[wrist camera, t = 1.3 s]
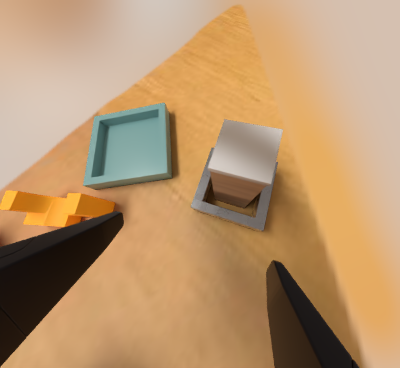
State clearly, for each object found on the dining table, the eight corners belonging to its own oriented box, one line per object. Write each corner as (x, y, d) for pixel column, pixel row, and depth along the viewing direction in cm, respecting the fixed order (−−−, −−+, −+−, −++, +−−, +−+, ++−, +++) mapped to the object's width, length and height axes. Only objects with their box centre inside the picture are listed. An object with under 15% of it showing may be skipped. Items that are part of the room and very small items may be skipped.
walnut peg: (244, 209, 21) (271, 184, 10) (214, 200, 22) (207, 167, 11) (251, 180, 22) (282, 129, 11) (222, 173, 23) (224, 119, 12)
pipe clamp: (46, 224, 25) (-9, 222, 19) (56, 200, 26) (6, 190, 20) (109, 229, 23) (69, 229, 17) (115, 202, 25) (81, 193, 18)
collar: (257, 231, 20) (263, 231, 17) (194, 210, 22) (190, 207, 19) (270, 170, 22) (277, 162, 20) (212, 157, 25) (211, 147, 22)
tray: (172, 178, 24) (167, 172, 22) (95, 189, 26) (83, 185, 23) (169, 113, 29) (164, 102, 27) (104, 125, 30) (94, 116, 28)
